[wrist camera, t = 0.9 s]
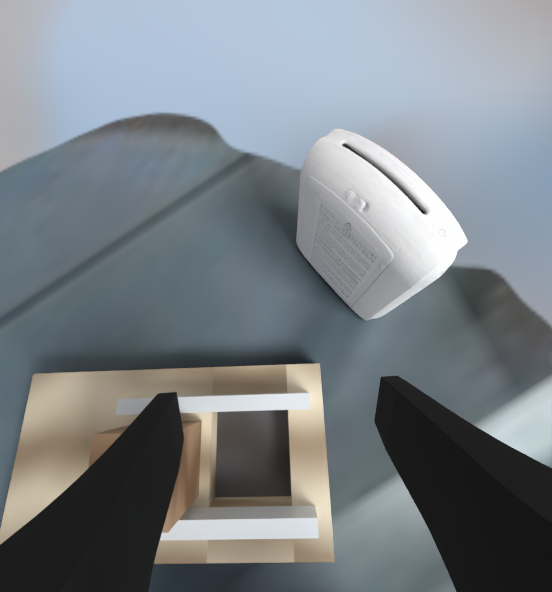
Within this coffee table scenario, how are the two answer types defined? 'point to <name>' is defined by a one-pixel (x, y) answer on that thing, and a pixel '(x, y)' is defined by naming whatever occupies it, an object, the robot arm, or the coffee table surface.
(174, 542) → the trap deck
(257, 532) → the channel
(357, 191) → the photo printer
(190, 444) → the walnut block
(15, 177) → the coffee table surface
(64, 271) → the coffee table surface
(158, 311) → the coffee table surface
